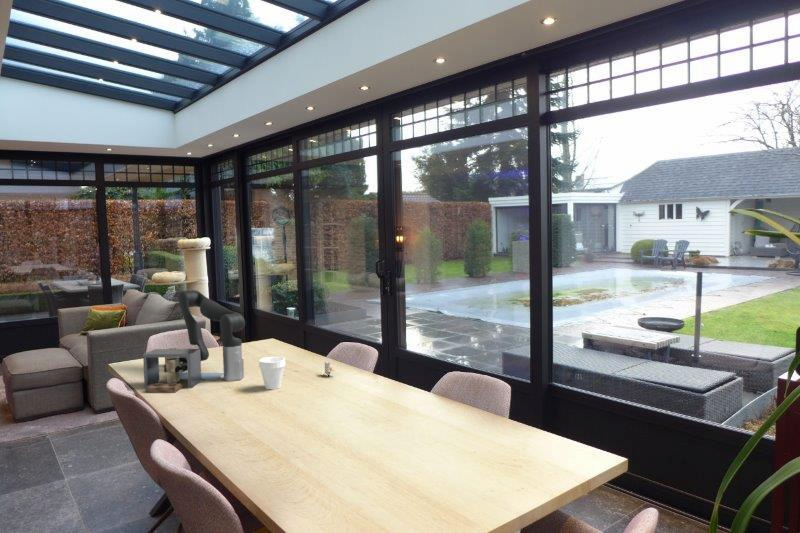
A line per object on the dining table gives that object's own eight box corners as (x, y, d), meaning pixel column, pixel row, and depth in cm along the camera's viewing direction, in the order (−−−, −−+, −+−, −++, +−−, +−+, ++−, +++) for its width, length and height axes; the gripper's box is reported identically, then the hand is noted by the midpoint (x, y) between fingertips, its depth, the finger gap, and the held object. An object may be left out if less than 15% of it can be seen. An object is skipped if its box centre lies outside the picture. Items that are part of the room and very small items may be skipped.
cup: (279, 391, 262) (278, 362, 261) (255, 390, 264) (254, 362, 263) (290, 384, 274) (289, 357, 273) (266, 383, 276) (265, 356, 275)
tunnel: (201, 381, 282) (200, 348, 281) (191, 388, 270) (190, 354, 269) (156, 381, 283) (155, 349, 282) (144, 388, 271) (143, 354, 270)
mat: (224, 373, 296) (224, 372, 296) (216, 379, 284) (216, 378, 284) (176, 373, 298) (176, 372, 298) (166, 379, 286) (166, 378, 286)
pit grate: (181, 388, 270) (181, 383, 269) (175, 392, 263) (174, 387, 262) (153, 388, 270) (153, 383, 270) (145, 392, 263) (145, 387, 263)
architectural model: (331, 374, 293) (330, 360, 293) (335, 377, 287) (335, 363, 286) (324, 375, 292) (324, 361, 291) (329, 378, 285) (329, 364, 285)
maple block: (180, 379, 278) (179, 358, 278) (175, 382, 274) (174, 360, 273) (171, 379, 279) (170, 358, 278) (166, 382, 274) (165, 360, 273)
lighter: (166, 367, 312) (166, 349, 311) (163, 366, 314) (162, 349, 313) (180, 364, 318) (179, 347, 318) (176, 364, 321) (176, 346, 320)
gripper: (171, 355, 290) (155, 362, 273) (198, 354, 290) (184, 362, 272) (172, 369, 291) (156, 378, 274) (199, 369, 290) (185, 378, 273)
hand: (170, 370), depth 273 cm, fingers closed on maple block, 4 cm apart
